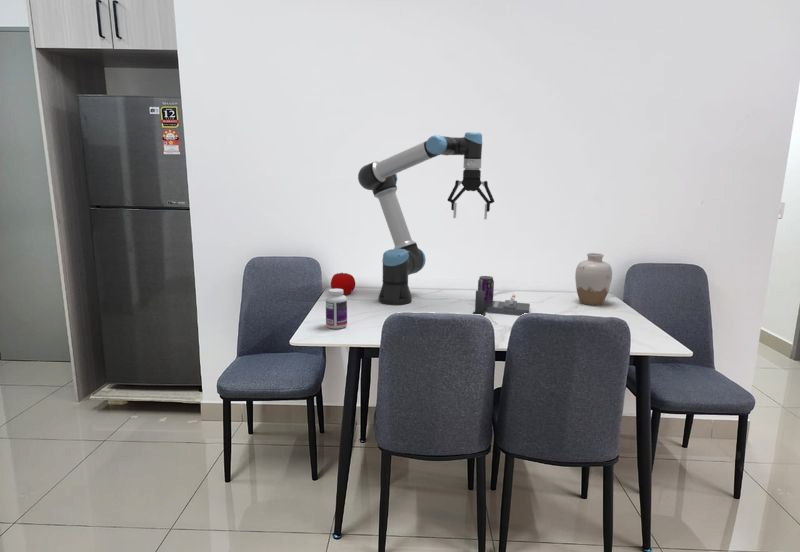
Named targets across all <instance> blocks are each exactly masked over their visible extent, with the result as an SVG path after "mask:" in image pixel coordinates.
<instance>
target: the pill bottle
mask: <svg viewBox="0 0 800 552" xmlns="http://www.w3.org/2000/svg"><path fill="white" fill-rule="evenodd" d="M347 325H348V299H347V296H346V295H343V289H332V288H330V289H328V295H327V296H326V297H325V326H326V327H327V328H329V329H331V330H332V329H333V330H335V329H336V330H339V329H345V328H346V327H347Z"/></svg>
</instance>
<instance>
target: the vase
mask: <svg viewBox="0 0 800 552" xmlns="http://www.w3.org/2000/svg"><path fill="white" fill-rule="evenodd" d="M586 255H587V260H582V261H581V262H578V264H577V266H576V268H575V273H574V274H575V277H574V279H575V288H576V294H577V296H578V299H579V301H580V303H581V304H583V305H587V306H602V304H604V302H605V300H606V298H607V296H608V293H609V291H610V288H611V285H612V279H613V269H612V266H611V265H610V263H608V262H606V261H603V258H604V256H605V255H604V254H603V253H595V252H588V253H587V254H586Z"/></svg>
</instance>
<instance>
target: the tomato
mask: <svg viewBox="0 0 800 552" xmlns="http://www.w3.org/2000/svg"><path fill="white" fill-rule="evenodd" d="M355 288H356V279H355V277H354V276H353V275H352V274H350V273H346V272H340V273H339V272H337V273H335V274H333V275H332V277H331V279H330V289H343V295H344V296H346V295H350V294H351V293H352V292H353V291H354V290H355Z"/></svg>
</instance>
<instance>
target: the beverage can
mask: <svg viewBox="0 0 800 552" xmlns="http://www.w3.org/2000/svg"><path fill="white" fill-rule="evenodd" d="M494 287H495V281H494V277H493V276H489V275H480V276H479V278H478V280H477V291H478V290H481V291H485V293H484V300H489V301H494V292H495V291H494Z"/></svg>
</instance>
